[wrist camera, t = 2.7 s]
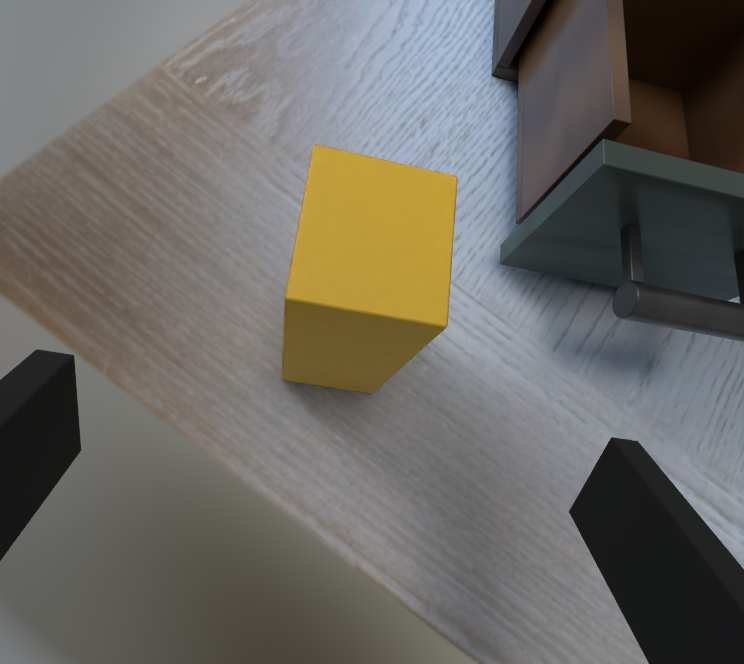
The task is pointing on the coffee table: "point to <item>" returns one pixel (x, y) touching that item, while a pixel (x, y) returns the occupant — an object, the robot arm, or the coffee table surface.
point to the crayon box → (366, 270)
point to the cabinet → (512, 34)
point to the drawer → (636, 156)
